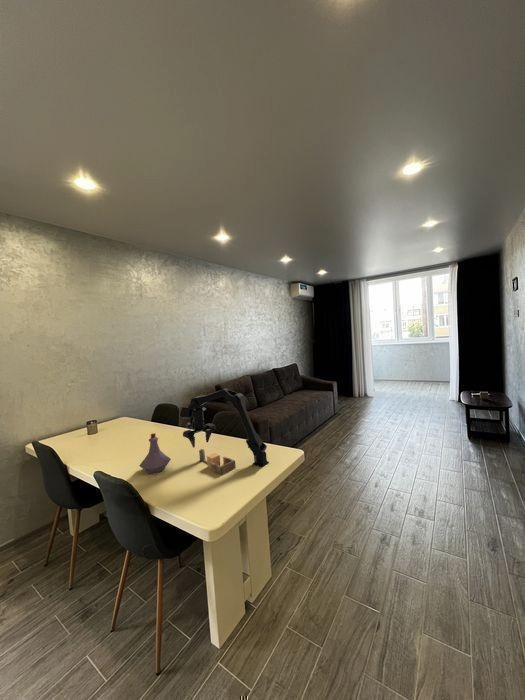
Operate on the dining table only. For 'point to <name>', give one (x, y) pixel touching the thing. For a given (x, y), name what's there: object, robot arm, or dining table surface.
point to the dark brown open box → (227, 466)
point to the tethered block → (209, 458)
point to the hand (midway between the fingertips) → (200, 444)
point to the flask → (154, 458)
